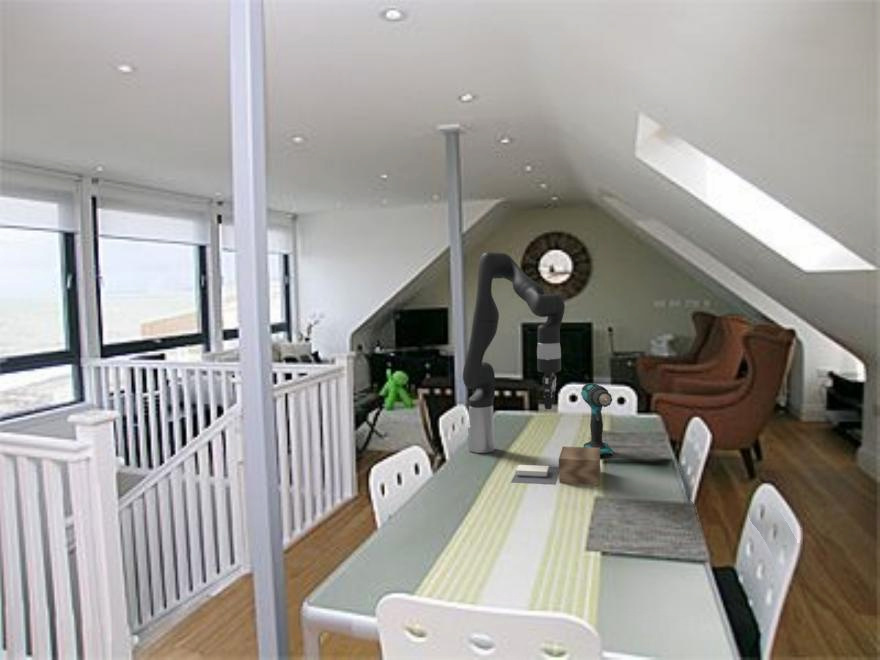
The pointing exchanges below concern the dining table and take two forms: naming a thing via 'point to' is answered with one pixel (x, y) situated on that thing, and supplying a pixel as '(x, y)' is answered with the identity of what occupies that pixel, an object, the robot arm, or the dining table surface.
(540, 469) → the card box
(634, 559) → the dining table surface
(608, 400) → the power drill
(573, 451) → the walnut block
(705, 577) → the dining table surface
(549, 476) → the mat
